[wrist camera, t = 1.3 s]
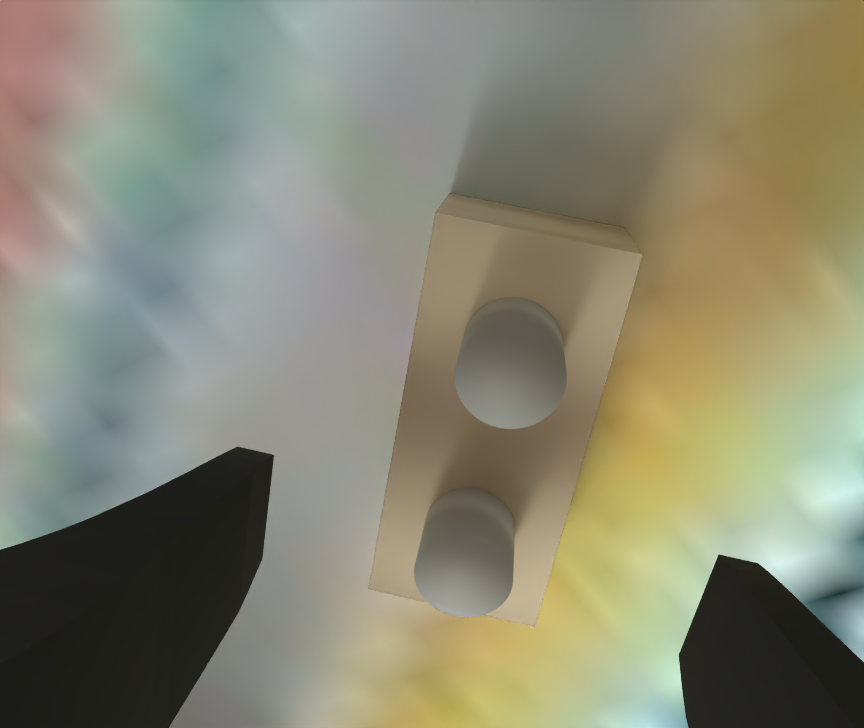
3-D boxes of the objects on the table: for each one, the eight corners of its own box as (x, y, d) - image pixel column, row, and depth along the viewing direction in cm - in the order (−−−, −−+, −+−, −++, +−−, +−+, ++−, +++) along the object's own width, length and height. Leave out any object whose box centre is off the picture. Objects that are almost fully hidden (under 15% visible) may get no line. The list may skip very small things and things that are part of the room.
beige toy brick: (533, 551, 20) (535, 685, 15) (390, 519, 20) (351, 642, 16) (623, 226, 17) (658, 277, 12) (451, 191, 17) (423, 229, 12)
